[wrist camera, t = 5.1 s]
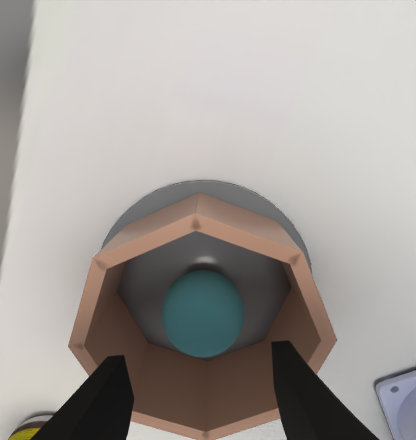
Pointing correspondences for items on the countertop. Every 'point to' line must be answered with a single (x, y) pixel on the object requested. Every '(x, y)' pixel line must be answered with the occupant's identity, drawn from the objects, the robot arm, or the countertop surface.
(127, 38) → the countertop surface
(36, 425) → the supplement bottle
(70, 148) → the countertop surface
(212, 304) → the ball
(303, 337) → the octagonal bowl
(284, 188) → the countertop surface
